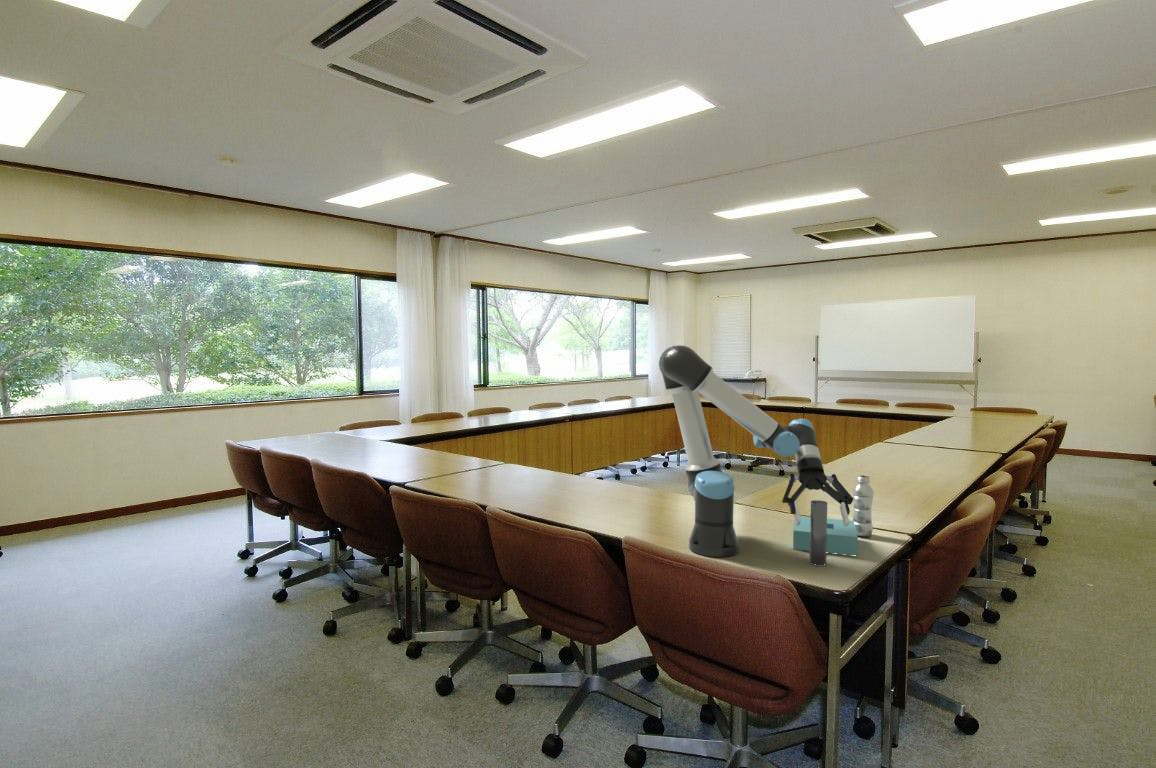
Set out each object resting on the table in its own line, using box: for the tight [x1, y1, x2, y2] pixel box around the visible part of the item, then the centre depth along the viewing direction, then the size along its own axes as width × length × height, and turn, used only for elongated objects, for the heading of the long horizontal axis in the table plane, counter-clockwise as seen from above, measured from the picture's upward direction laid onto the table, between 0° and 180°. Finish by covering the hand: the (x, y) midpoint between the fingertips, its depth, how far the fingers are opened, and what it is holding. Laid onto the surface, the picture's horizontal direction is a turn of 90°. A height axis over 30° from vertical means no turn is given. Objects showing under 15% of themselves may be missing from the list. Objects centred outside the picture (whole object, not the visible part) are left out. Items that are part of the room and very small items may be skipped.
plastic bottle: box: [852, 474, 875, 537], centre depth 191 cm, size 6×7×20 cm
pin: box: [809, 499, 828, 565], centre depth 166 cm, size 4×4×18 cm
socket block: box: [792, 515, 858, 557], centre depth 183 cm, size 18×18×6 cm
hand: (822, 523), depth 168 cm, fingers open, 13 cm apart
